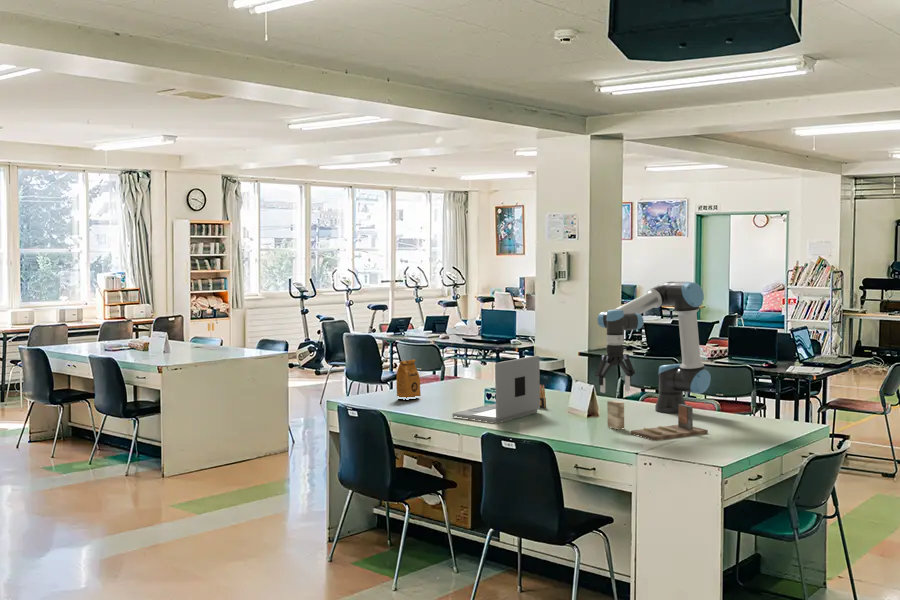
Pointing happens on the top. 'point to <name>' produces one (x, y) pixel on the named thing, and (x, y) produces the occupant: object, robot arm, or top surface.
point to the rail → (673, 427)
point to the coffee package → (408, 379)
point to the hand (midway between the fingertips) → (615, 391)
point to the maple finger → (615, 414)
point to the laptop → (511, 392)
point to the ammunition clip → (542, 397)
